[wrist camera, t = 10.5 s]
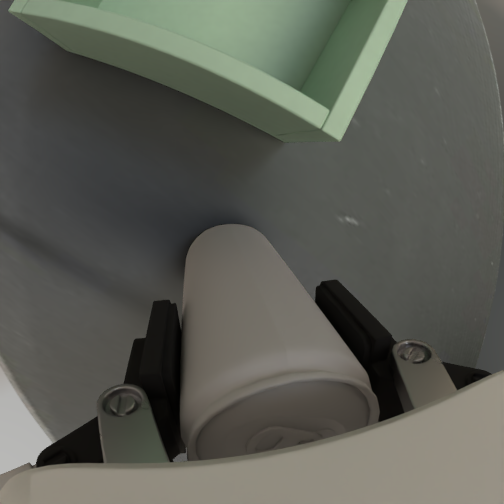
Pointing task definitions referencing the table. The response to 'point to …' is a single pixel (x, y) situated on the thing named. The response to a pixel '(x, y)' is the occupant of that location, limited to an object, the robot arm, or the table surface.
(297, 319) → the beverage can
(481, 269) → the table surface
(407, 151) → the table surface
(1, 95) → the table surface
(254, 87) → the open box
